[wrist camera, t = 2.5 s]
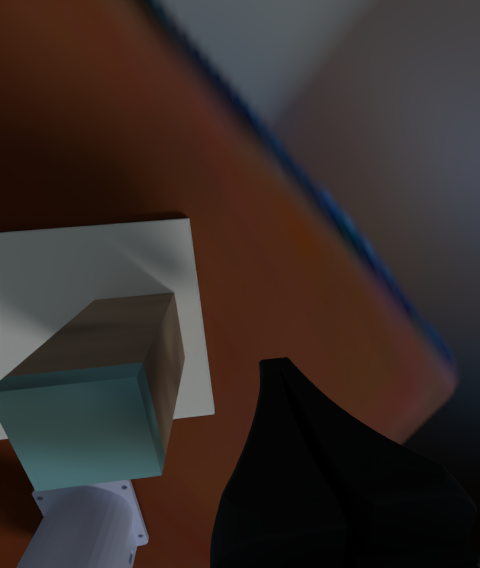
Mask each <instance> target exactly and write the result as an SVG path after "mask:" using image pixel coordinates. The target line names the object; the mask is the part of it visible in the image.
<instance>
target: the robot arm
mask: <svg viewBox="0 0 480 568" xmlns="http://www.w3.org/2000/svg"><path fill="white" fill-rule="evenodd" d="M259 367H260V392H259V397H258V402H257V408H256V412H255V416H254V419H253V423H252V426H251V429H250V432H249V435H248V438H247V441H246V444H245V446H244V449H243V451H242V453H241V456H240V458H239V460H238V463H237V465H236V467H235V469H234V472H233V474H232V476H231V478H230V479H229V481H228V483H227V485H226V487H225V489H224V491H223V493H222V496H221V500H220V504H219V507H218V511H217V515H216V519H215V523H214V528H213V533H212V539H211V548H210V568H479V567H478V566H477V564H478V562H479V559H478V556H477V555H476V553H475V552H474V551H473V549H472V548H471V546H470V545H469V543H468V542H467V539H468V537H469V535H470V532H471V529H472V527H473V524H474V522H475V517H476V507H475V503H474V502H473V500H472V499H471V498H470V497H469V496H468V495H467V493H466V492H465V491H464V490H463V488H462V487H461V486H460V485H459V483H458V482H457V481H456V480H455V478H454V477H453V476H452V475H451V474H450V473H449V472H448V471H447V470H446V469H445V468H444V467H443V465H441V464H439V463H437V462H435V461H432V460H430V459H428V458H426V457H424V456H422V455H420V454H418V453H415V452H413V451H411V450H409V449H407V448H405V447H403V446H401V445H400V444H398V443H396V442H394V441H392V440H390V439H388V438H387V437H385V436H383V435H381V434H380V433H378V432H376V431H375V430H373V429H371V428H370V427H368V426H367V425H365V424H363V423H362V422H360V421H359V420H357V419H356V418H354V417H353V416H351V415H350V414H349V413H347V412H346V411H345V410H343V409H342V408H340V407H339V406H338V405H337V404H335V403H334V402H333V401H332V400H331V399H329V398H328V397H327V396H326V395H325V394H324V393H322V392H321V391H320V390H319V389H318V388H317V387H316V386H315V385H314V384H313V383H312V382H311V381H310V380H309V379H308V378H307V377H306V376H305V375H304V374H303V373H302V372H301V371H300V370H299V369H298V368H297V367H296V366H295V365H294V364H293V363H292V362H291V360H290V359H289V358H287V357H284V358H275V359H265V360H261V361H260V362H259ZM32 495H33V497H34V499H35V501H36V503H37V505H38V507H39V509H40V510H41V512H42V514H43V516H44V517H43V519H42V521H41V523H40V525H39V527H38V529H37V530H36V532H35V534H34V536H33V538H32V540H31V542H30V543H29V545H28V547H27V549H26V551H25V553H24V555H23V556H22V558H21V560H20V562H19V564H18V566H17V567H16V568H132V567H133V562H134V558H135V554H136V549H137V546H139V545H145V544H147V542H148V538H149V537H148V533H147V530H146V527H145V524H144V521H143V518H142V515H141V511H140V508H139V505H138V502H137V499H136V496H135V493H134V489H133V486H132V483H131V480H130V479H129V480H121V481H114V482H106V483H98V484H91V485H83V486H75V487H68V488H60V489H52V490H45V491H37V492H36V491H35V489H34V491H33V492H32Z"/></svg>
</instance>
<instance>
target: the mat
mask: <svg viewBox="0 0 480 568" xmlns="http://www.w3.org/2000/svg"><path fill="white" fill-rule="evenodd" d="M163 293H174V294H175V300H176V305H177V311H178V317H179V323H180V329H181V335H182V341H183V347H184V353H185V361H184V366H183V371H182V376H181V381H180V386H179V391H178V396H177V401H176V406H175V411H174V416H173V419H177V418H186V417H194V416H202V415H211V414H214V402H213V394H212V387H211V379H210V372H209V364H208V356H207V349H206V341H205V334H204V326H203V318H202V311H201V303H200V296H199V288H198V280H197V273H196V265H195V258H194V250H193V243H192V235H191V227H190V220H189V218H184V219H171V220H157V221H144V222H131V223H118V224H105V225H92V226H78V227H65V228H52V229H39V230H26V231H13V232H0V380H1V379H2V378H4V377H5V376H6V375H7V374H8V373H9V372H11V371H12V370H13V369H14V368H15V367H16V366H18V365H19V364H20V363H21V362H22V361H23V360H25V359H26V358H27V357H28V356H29V355H31V354H32V353H33V352H34V351H35V350H36V349H38V348H39V347H40V346H41V345H42V344H43V343H45V342H46V341H47V340H48V339H49V338H50V337H52V336H53V335H54V334H55V333H56V332H57V331H59V330H60V329H61V328H62V327H63V326H64V325H66V324H67V323H68V322H69V321H70V320H72V319H73V318H74V317H75V316H76V315H77V314H79V313H80V312H81V311H82V310H83V309H84V308H86V307H87V306H88V305H89V304H90V303H91V302H93V301H94V300H97V299H108V298H119V297H130V296H141V295H152V294H163ZM0 439H8V437H7V435H6V433H5V431H4V429H3V427H2V425H1V423H0Z"/></svg>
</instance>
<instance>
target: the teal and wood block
mask: <svg viewBox="0 0 480 568" xmlns="http://www.w3.org/2000/svg"><path fill="white" fill-rule="evenodd" d="M184 361H185V353H184V347H183V341H182V335H181V329H180V323H179V317H178V311H177V305H176V300H175V294H174V293H163V294H152V295H141V296H130V297H119V298H108V299H97V300H94V301H93V302H91V303H90V304H89V305H88V306H87V307H86V308H84V309H83V310H82V311H81V312H80V313H79V314H77V315H76V316H75V317H74V318H73V319H72V320H70V321H69V322H68V323H67V324H66V325H64V326H63V327H62V328H61V329H60V330H59V331H57V332H56V333H55V334H54V335H53V336H52V337H50V338H49V339H48V340H47V341H46V342H45V343H43V344H42V345H41V346H40V347H39V348H38V349H36V350H35V351H34V352H33V353H32V354H31V355H29V356H28V357H27V358H26V359H25V360H23V361H22V362H21V363H20V364H19V365H18V366H16V367H15V368H14V369H13V370H12V371H11V372H9V373H8V374H7V375H6V376H5V377H4V378H2V379H1V380H0V423H1V425H2V427H3V429H4V431H5V433H6V435H7V437H8V439H9V441H10V443H11V445H12V446H13V448H14V450H15V452H16V454H17V456H18V458H19V460H20V462H21V464H22V466H23V468H24V470H25V472H26V473H27V475H28V477H29V479H30V481H31V483H32V485H33V487H34V489H35V491H36V492H37V491H45V490H52V489H60V488H68V487H75V486H83V485H91V484H98V483H106V482H114V481H121V480H129V479H137V478H144V477H152V476H160V475H162V470H163V466H164V461H165V456H166V451H167V446H168V441H169V436H170V431H171V426H172V421H173V416H174V411H175V406H176V401H177V396H178V391H179V386H180V381H181V376H182V371H183V366H184Z"/></svg>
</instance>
